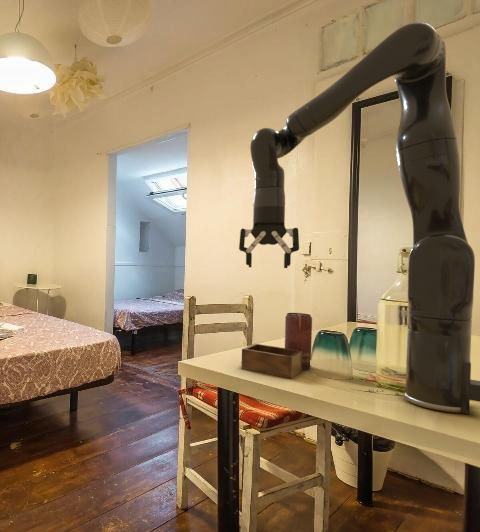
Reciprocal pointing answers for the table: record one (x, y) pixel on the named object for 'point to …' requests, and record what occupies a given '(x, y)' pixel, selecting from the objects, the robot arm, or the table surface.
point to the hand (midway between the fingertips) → (267, 267)
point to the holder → (272, 360)
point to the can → (299, 335)
